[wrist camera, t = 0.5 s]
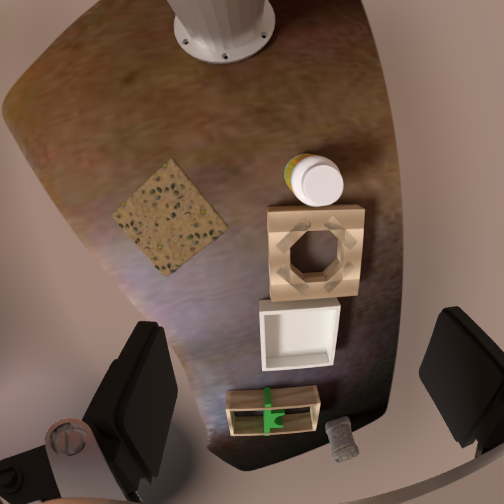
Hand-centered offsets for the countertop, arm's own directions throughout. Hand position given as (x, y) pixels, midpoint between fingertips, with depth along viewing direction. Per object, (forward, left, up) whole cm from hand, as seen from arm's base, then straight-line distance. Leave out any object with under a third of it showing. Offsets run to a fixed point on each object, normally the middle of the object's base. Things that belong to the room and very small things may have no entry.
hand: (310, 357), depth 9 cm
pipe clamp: (+39, 0, -30) cm, 49 cm away
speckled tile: (+3, -13, -30) cm, 33 cm away
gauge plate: (+8, +6, -30) cm, 31 cm away
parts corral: (+39, 0, -30) cm, 49 cm away
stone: (+48, +14, -30) cm, 58 cm away
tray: (+21, +4, -30) cm, 36 cm away
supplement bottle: (-2, +5, -30) cm, 30 cm away
